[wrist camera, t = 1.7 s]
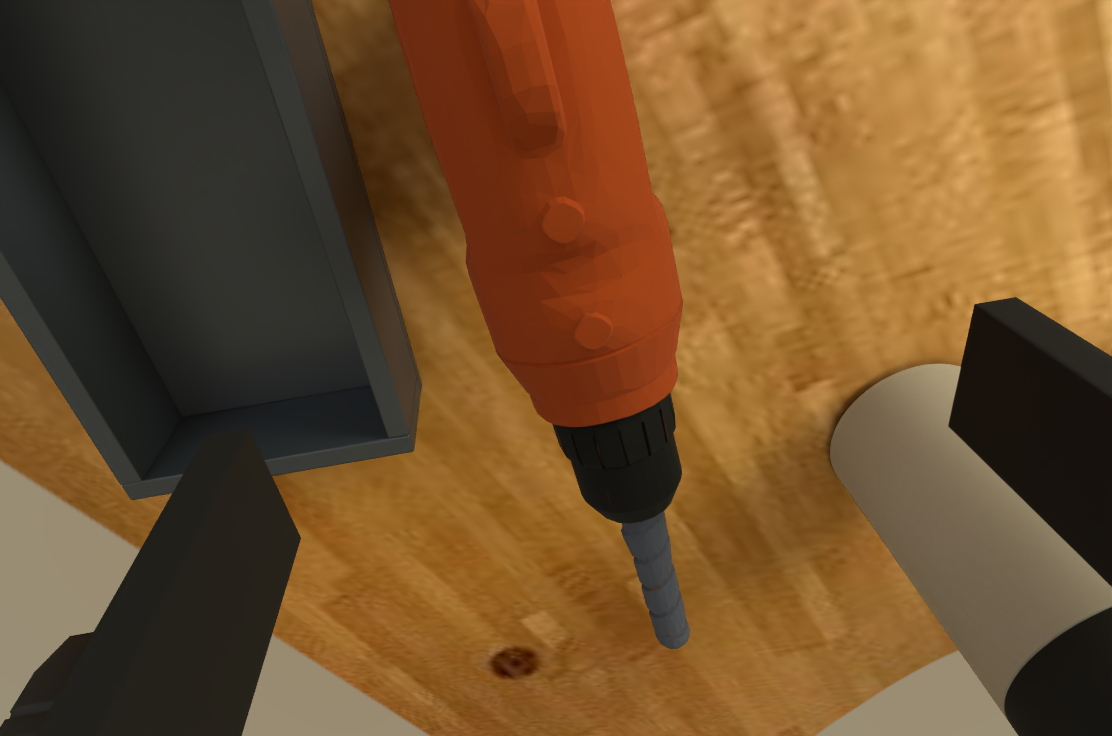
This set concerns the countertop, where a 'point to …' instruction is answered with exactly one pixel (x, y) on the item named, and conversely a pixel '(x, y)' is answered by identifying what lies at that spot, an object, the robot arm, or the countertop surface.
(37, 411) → the countertop surface
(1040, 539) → the travel mug
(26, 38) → the tray
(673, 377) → the toy drill
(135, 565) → the robot arm
